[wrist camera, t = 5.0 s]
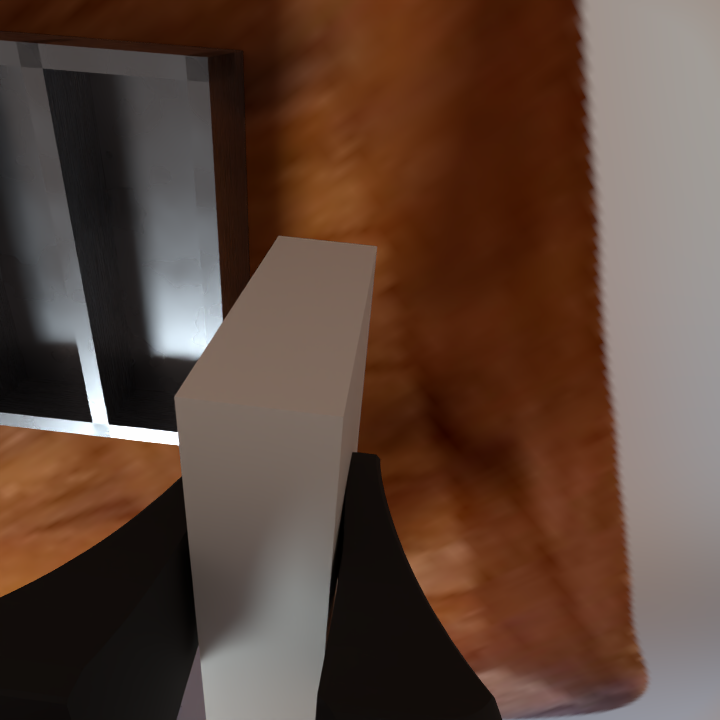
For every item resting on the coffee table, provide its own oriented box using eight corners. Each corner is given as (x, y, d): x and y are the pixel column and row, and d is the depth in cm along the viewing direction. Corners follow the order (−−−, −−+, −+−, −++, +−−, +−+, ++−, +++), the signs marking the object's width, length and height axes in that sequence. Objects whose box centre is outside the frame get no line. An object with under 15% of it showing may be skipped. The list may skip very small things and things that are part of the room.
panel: (348, 538, 19) (315, 774, 13) (276, 528, 19) (210, 760, 13) (377, 246, 14) (343, 416, 8) (278, 235, 14) (174, 396, 8)
